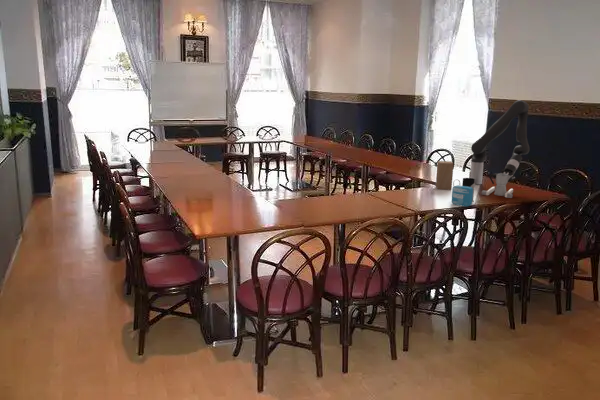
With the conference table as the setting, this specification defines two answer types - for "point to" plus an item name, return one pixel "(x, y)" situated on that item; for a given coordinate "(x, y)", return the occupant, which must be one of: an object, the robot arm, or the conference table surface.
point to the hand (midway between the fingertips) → (500, 185)
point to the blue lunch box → (468, 184)
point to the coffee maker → (500, 182)
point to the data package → (462, 195)
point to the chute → (507, 194)
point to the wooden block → (444, 175)
